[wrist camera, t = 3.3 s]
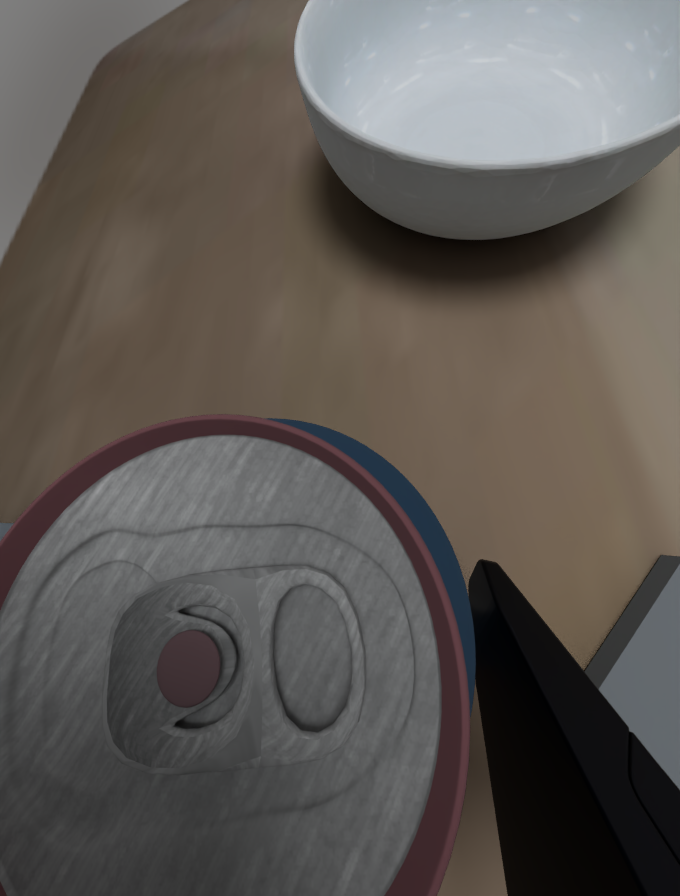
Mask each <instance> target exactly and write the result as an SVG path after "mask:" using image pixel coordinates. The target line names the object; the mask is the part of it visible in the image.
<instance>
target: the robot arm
mask: <svg viewBox="0 0 680 896" xmlns="http://www.w3.org/2000/svg"><path fill="white" fill-rule="evenodd" d="M468 591H469V601H470V607H471V613H472V619H473V627H474V637H475V658H476V668H475V680H476V687H477V694H478V700H479V707H480V714H481V720H482V727H483V734H484V740H485V747H486V754H487V761H488V767H489V774H490V781H491V787H492V794H493V801H494V807H495V814H496V821H497V827H498V834H499V841H500V847H501V854H502V861H503V867H504V874H505V881H506V887H507V894H508V896H680V789H679V788H678V787H677V786H676V784H675V783H674V782H673V781H672V780H671V778H670V777H669V776H668V775H667V773H666V772H665V771H664V770H663V769H662V767H661V766H660V765H659V764H658V763H657V761H656V760H655V759H654V758H653V756H652V755H651V754H650V753H649V751H648V750H647V749H646V748H645V746H644V745H643V744H642V743H641V741H640V740H639V739H638V738H637V736H636V735H635V734H634V733H633V732H629V727H628V725H627V724H626V723H625V722H624V720H623V719H622V718H621V717H620V715H619V714H618V713H617V712H616V710H615V709H614V708H613V707H612V705H611V704H610V703H609V702H608V700H607V699H606V698H605V697H604V695H603V694H602V693H601V692H600V690H599V689H598V688H597V687H596V685H595V684H594V683H593V682H592V680H591V679H590V678H589V677H588V675H587V674H586V673H585V672H584V670H583V669H582V668H581V667H580V665H579V664H578V663H577V662H576V661H575V659H574V658H573V657H572V656H571V654H570V653H569V652H568V651H567V649H566V648H565V647H564V646H563V644H562V643H561V642H560V641H559V639H558V638H557V637H556V636H555V634H554V633H553V632H552V631H551V629H550V628H549V627H548V626H547V624H546V623H545V622H544V621H543V619H542V618H541V617H540V616H539V614H538V613H537V612H536V611H535V609H534V608H533V607H532V606H531V604H530V603H529V602H528V601H527V599H526V598H525V597H524V596H523V594H522V593H521V592H520V591H519V589H518V588H517V587H516V586H515V584H514V583H513V582H512V581H511V579H510V578H509V577H508V576H507V574H506V573H505V572H504V571H503V569H502V568H501V567H500V566H499V565H498V564H497V563H496V562H492V561H488V560H483V559H480V560H479V561H478V562H477V564H476V566H475V568H474V570H473V573H472V575H471V577H470V579H469V585H468Z"/></svg>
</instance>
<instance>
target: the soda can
mask: <svg viewBox="0 0 680 896" xmlns="http://www.w3.org/2000/svg"><path fill="white" fill-rule="evenodd" d="M475 668H476V658H475V637H474V627H473V619H472V613H471V607H470V601H469V597H468V593H467V589H466V585H465V581H464V578H463V575H462V572H461V569H460V566H459V563H458V561H457V558H456V556H455V553H454V551H453V548H452V546H451V544H450V542H449V540H448V538H447V536H446V534H445V532H444V530H443V528H442V526H441V524H440V523H439V521H438V519H437V518H436V516H435V514H434V513H433V511H432V510H431V508H430V507H429V506H428V504H427V503H426V501H425V500H424V499H423V497H422V496H421V495H420V494H419V492H418V491H417V490H416V489H415V487H414V486H413V485H412V484H411V483H410V482H409V481H408V480H407V479H406V478H405V477H404V476H403V475H402V474H401V473H400V472H399V471H398V470H397V469H396V468H395V467H394V466H393V465H392V464H390V463H389V462H388V461H386V460H385V459H384V458H383V457H381V456H380V455H379V454H377V453H376V452H374V451H373V450H371V449H370V448H368V447H367V446H365V445H363V444H362V443H360V442H358V441H356V440H354V439H353V438H350V437H348V436H346V435H344V434H342V433H340V432H337V431H334V430H331V429H329V428H326V427H323V426H319V425H316V424H312V423H307V422H302V421H296V420H288V419H272V418H268V419H263V418H258V417H252V416H243V415H227V414H217V415H201V416H191V417H185V418H180V419H174V420H170V421H166V422H162V423H158V424H155V425H152V426H149V427H146V428H143V429H140V430H137V431H135V432H133V433H130V434H128V435H125V436H123V437H121V438H119V439H117V440H115V441H113V442H111V443H109V444H107V445H105V446H104V447H102V448H100V449H99V450H97V451H95V452H93V453H92V454H90V455H89V456H87V457H86V458H84V459H83V460H81V461H80V462H78V463H77V464H76V465H74V466H73V467H72V468H70V469H69V470H68V471H66V472H65V473H64V474H63V475H61V476H60V477H59V478H58V479H57V480H56V481H54V482H53V483H52V484H51V485H50V486H49V487H47V488H46V489H45V490H44V491H43V492H42V493H41V494H40V495H39V496H38V497H37V498H36V499H35V500H34V501H33V502H32V503H31V504H30V506H29V507H28V508H27V509H26V510H25V511H24V512H23V513H22V514H21V515H20V517H19V518H18V519H17V520H16V522H15V523H14V524H13V525H12V526H11V528H10V529H9V530H8V531H7V533H6V534H5V535H4V537H3V538H2V540H1V541H0V896H437V894H438V891H439V889H440V886H441V883H442V881H443V878H444V875H445V872H446V869H447V866H448V863H449V860H450V857H451V854H452V850H453V846H454V842H455V838H456V835H457V831H458V827H459V823H460V818H461V813H462V807H463V802H464V797H465V791H466V782H467V773H468V765H469V747H470V716H471V711H472V704H473V696H474V687H475Z"/></svg>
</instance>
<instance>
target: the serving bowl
mask: <svg viewBox="0 0 680 896" xmlns="http://www.w3.org/2000/svg"><path fill="white" fill-rule="evenodd" d="M294 63H295V69H296V74H297V79H298V83H299V86H300V89H301V93H302V96H303V100H304V103H305V106H306V110H307V113H308V116H309V119H310V122H311V125H312V128H313V131H314V133H315V135H316V138H317V140H318V142H319V145H320V147H321V149H322V151H323V153H324V155H325V157H326V158H327V160H328V162H329V163H330V165H331V167H332V168H333V169H334V171H335V172H336V174H337V175H338V176H339V178H340V179H341V180H342V182H343V183H344V184H345V185H346V186H347V187H348V188H349V189H350V191H351V192H352V193H353V194H354V195H355V196H357V197H358V198H359V199H360V200H361V201H362V202H363V203H364V204H366V205H367V206H368V207H370V208H371V209H372V210H374V211H375V212H377V213H378V214H380V215H381V216H383V217H385V218H387V219H389V220H391V221H392V222H394V223H397V224H399V225H401V226H403V227H406V228H409V229H411V230H414V231H417V232H420V233H424V234H428V235H432V236H437V237H443V238H450V239H462V240H487V239H499V238H505V237H512V236H517V235H522V234H526V233H530V232H534V231H537V230H541V229H544V228H547V227H550V226H553V225H556V224H558V223H561V222H563V221H566V220H569V219H571V218H573V217H576V216H578V215H580V214H582V213H584V212H587V211H589V210H590V209H592V208H594V207H596V206H598V205H600V204H601V203H603V202H605V201H607V200H608V199H610V198H612V197H614V196H615V195H617V194H618V193H620V192H621V191H623V190H624V189H626V188H627V187H629V186H631V185H632V184H633V183H635V182H636V181H637V180H639V179H640V178H641V177H643V176H644V175H645V174H647V173H648V172H649V171H651V170H652V169H653V168H654V167H656V166H657V165H658V164H659V163H660V162H662V161H663V160H664V159H665V158H666V157H667V156H668V155H670V154H671V153H672V152H673V151H674V150H675V149H676V148H677V147H678V146H680V0H309V1H308V3H307V5H306V7H305V9H304V11H303V13H302V15H301V18H300V21H299V24H298V27H297V31H296V36H295V42H294Z"/></svg>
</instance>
